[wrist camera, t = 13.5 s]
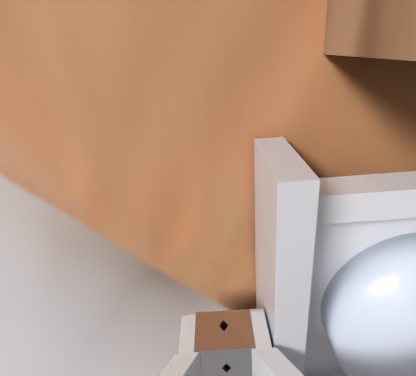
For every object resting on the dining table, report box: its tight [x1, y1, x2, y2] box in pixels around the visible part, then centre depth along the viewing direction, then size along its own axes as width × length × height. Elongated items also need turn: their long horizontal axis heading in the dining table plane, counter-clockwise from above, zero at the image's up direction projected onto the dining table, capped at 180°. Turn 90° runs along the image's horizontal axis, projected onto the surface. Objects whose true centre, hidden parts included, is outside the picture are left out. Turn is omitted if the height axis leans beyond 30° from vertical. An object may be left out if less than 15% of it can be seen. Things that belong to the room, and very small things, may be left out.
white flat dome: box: [320, 232, 416, 376], centre depth 11 cm, size 6×6×2 cm
